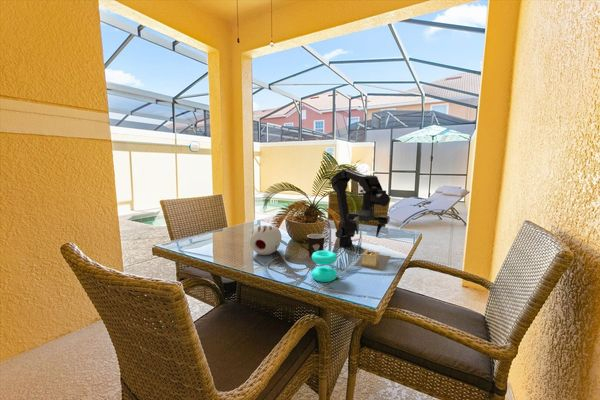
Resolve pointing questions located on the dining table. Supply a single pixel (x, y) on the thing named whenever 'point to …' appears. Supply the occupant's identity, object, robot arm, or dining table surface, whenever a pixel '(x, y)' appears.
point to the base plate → (380, 266)
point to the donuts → (323, 272)
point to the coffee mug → (314, 243)
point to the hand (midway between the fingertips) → (367, 235)
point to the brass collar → (370, 258)
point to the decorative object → (265, 239)
